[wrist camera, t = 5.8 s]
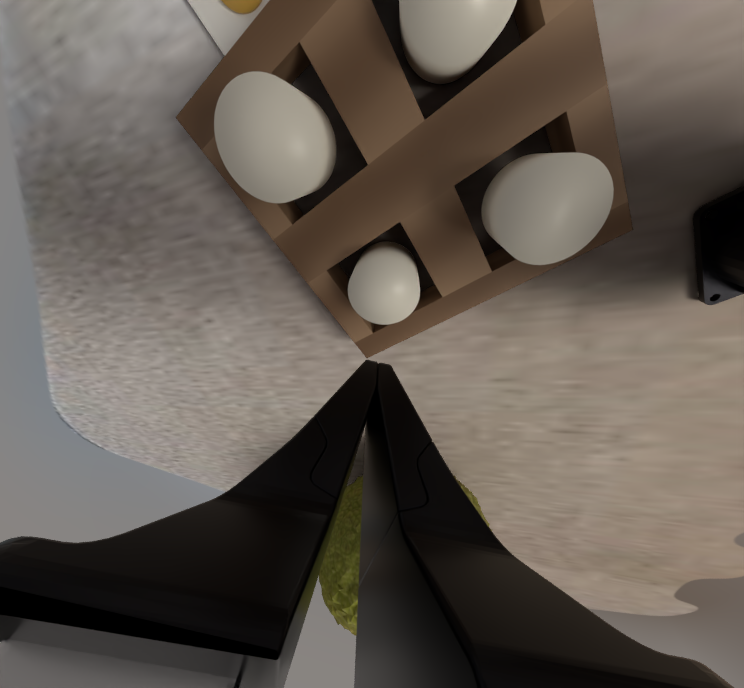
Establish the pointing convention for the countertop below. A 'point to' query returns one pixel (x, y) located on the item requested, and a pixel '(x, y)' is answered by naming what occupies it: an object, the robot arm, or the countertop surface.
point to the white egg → (449, 34)
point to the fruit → (350, 557)
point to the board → (419, 146)
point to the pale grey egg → (547, 205)
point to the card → (227, 18)
